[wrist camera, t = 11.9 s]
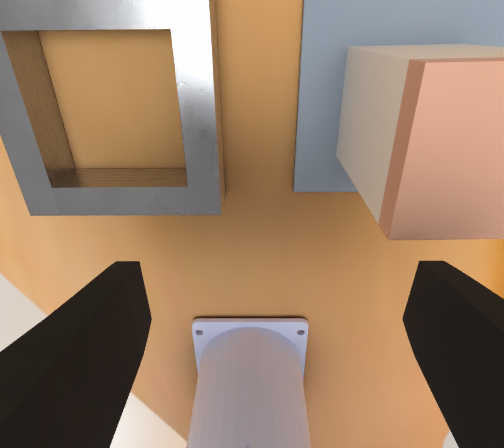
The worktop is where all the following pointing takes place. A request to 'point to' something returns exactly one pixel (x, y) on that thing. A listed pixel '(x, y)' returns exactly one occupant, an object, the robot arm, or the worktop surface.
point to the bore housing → (52, 130)
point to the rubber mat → (367, 34)
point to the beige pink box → (426, 138)
